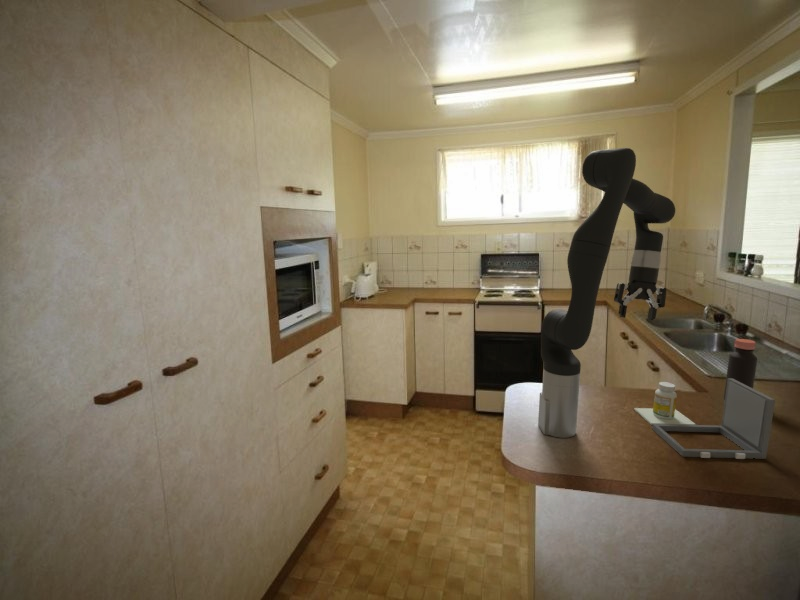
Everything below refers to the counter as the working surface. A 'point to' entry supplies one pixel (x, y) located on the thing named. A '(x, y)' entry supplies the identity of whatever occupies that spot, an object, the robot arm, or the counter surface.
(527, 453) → the counter surface
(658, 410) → the supplement bottle
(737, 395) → the access hatch
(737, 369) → the vinegar
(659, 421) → the mat
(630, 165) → the robot arm
